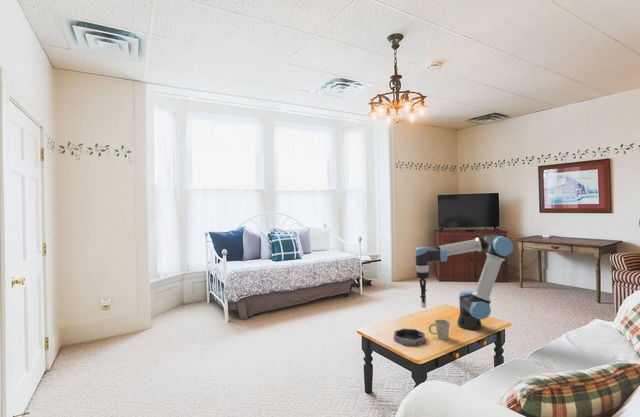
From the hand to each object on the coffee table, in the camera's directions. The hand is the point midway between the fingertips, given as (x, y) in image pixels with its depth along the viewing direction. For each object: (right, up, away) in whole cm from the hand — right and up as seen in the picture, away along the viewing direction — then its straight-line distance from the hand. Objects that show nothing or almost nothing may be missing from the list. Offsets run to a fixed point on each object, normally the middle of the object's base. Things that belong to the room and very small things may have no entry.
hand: (423, 304), depth 215 cm
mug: (+8, -20, -5) cm, 22 cm away
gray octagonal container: (-11, -20, -6) cm, 24 cm away
